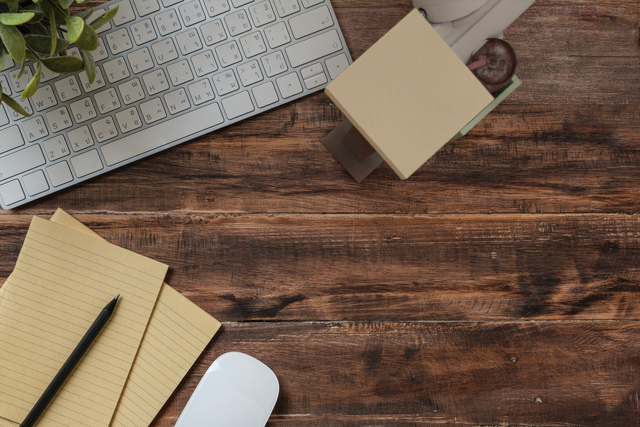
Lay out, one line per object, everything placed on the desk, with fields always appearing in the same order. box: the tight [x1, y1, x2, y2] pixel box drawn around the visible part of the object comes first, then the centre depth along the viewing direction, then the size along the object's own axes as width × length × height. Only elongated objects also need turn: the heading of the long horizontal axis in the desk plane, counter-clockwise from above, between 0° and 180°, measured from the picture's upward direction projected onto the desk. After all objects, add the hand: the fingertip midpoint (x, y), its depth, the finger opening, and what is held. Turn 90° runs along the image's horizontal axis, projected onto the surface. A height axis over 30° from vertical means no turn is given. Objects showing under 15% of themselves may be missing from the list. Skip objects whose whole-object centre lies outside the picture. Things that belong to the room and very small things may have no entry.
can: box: [466, 38, 518, 94], centre depth 61 cm, size 6×6×14 cm
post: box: [319, 116, 385, 185], centre depth 54 cm, size 8×8×27 cm
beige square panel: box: [323, 7, 494, 181], centre depth 40 cm, size 10×10×2 cm
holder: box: [447, 74, 523, 143], centre depth 66 cm, size 11×11×6 cm
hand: (477, 78), depth 60 cm, fingers closed on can, 3 cm apart
